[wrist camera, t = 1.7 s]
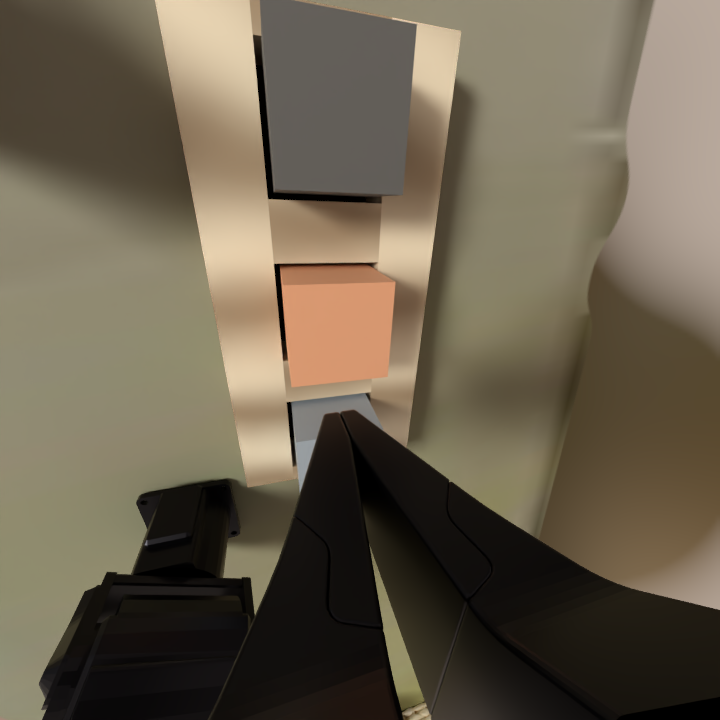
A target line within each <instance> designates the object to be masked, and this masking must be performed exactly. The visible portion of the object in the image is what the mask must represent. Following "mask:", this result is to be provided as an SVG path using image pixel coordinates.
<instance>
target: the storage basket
mask: <svg viewBox="0 0 720 720" xmlns="http://www.w3.org/2000/svg"><path fill="white" fill-rule="evenodd" d="M402 714H403V718H404V720H431V715H430V714H429V711H428V708H427V706H426V703H425V702H424V703H420V704H418V705H416V706H415V707H413V708H412V707H410V708H408V709H406V710H405V711H404V712H402Z"/></svg>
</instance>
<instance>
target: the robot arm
mask: <svg viewBox="0 0 720 720" xmlns="http://www.w3.org/2000/svg"><path fill="white" fill-rule="evenodd" d="M222 486H225V487H222ZM144 500H146V501H144ZM136 504H137V506H138V509H139V511H140V513H141V515H142V518H143V520H144V522H145V525H146V527H147V529H148V530H147V532H146V535H145V538H144V540H143V543H142V546H141V548H140V551H139V554H138V557H137V559H136V562H135V565H134V567H133V570H132V573H131V575H127V574H117V572H107V573H106V575H105V577H104V580H103V582H102V584H101V585H97V586H96V587H95V588H92V589H90V590H87V591H85V592H84V594H83V596H82V598H81V600H80V603H79V605H78V607H77V609H76V611H75V613H74V615H73V617H72V619H71V621H70V623H69V625H68V627H67V629H66V631H65V633H64V635H63V637H62V639H61V641H60V642H59V644H58V646H57V648H56V650H55V652H54V654H53V656H52V658H51V659H50V661H49V663H48V665H47V667H46V669H45V671H44V673H43V675H42V677H41V680H40V682H39V686H40V688H41V690H42V692H43V694H44V697H45V702H44V704H43V707H42V709H41V710H46V712H45V714H44V717H43V719H42V720H404V718H403V714H402V711H401V707H400V703H399V700H398V696H397V692H396V689H395V685H394V681H393V676H392V671H391V666H390V662H389V657H388V652H387V646H386V641H385V635H384V632H383V623H382V617H381V611H380V605H379V600H378V594H377V588H376V582H375V576H374V570H373V564H372V558H371V553H370V547H371V549H372V552H373V555H374V558H375V561H376V564H377V566H378V569H379V572H380V575H381V578H382V581H383V583H384V586H385V589H386V592H387V595H388V598H389V601H390V603H391V606H392V609H393V612H394V615H395V618H396V620H397V623H398V626H399V629H400V632H401V635H402V637H403V640H404V643H405V646H406V649H407V652H408V654H409V657H410V660H411V663H412V666H413V669H414V671H415V674H416V677H417V680H418V683H419V686H420V689H421V691H422V694H423V697H424V700H425V703H426V706H427V708H428V711H429V714H430V715H431V720H720V610H718V609H713V608H709V607H705V606H701V605H696V604H693V603H689V602H684V601H680V600H676V599H672V598H668V597H664V596H659V595H655V594H651V593H647V592H643V591H639V590H635V589H631V588H628V587H625V586H622V585H620V584H617V583H614V582H612V581H610V580H607V579H605V578H603V577H601V576H599V575H597V574H595V573H593V572H591V571H589V570H587V569H585V568H584V567H582V566H580V565H579V564H577V563H575V562H574V561H572V560H570V559H568V558H567V557H565V556H564V555H562V554H561V553H559V552H557V551H556V550H554V549H553V548H551V547H549V546H548V545H546V544H545V543H543V542H541V541H540V540H538V539H537V538H535V537H533V536H532V535H530V534H529V533H527V532H525V531H524V530H522V529H520V528H519V527H517V526H516V525H514V524H512V523H511V522H509V521H508V520H506V519H505V518H503V517H502V516H500V515H498V514H497V513H495V512H494V511H492V510H491V509H489V508H488V507H486V506H485V505H483V504H482V503H480V502H479V501H478V500H476V499H475V498H473V497H472V496H471V495H469V494H468V493H466V492H465V491H464V490H462V489H461V488H460V487H458V486H457V485H456V484H454V483H453V482H449V479H447V478H446V477H445V476H443V475H442V474H441V473H439V472H438V471H437V470H435V469H434V468H433V467H431V466H430V465H429V464H427V463H426V462H425V461H423V460H422V459H421V458H419V457H418V456H417V455H415V454H414V453H413V452H411V451H410V450H409V449H407V448H406V447H405V446H403V445H402V444H401V443H399V442H398V441H397V440H395V439H394V438H393V437H391V436H390V435H388V434H387V433H386V432H384V431H383V430H382V429H380V428H379V427H378V426H376V425H375V424H374V423H372V422H371V421H370V420H368V419H367V418H366V417H364V416H363V415H362V414H360V413H359V412H358V411H356V410H354V409H352V410H346V411H341V412H340V413H339V412H333V413H326V414H324V416H323V419H322V422H321V425H320V429H319V432H318V435H317V439H316V442H315V445H314V448H313V452H312V455H311V458H310V462H309V465H308V468H307V472H306V475H305V478H304V482H303V485H302V488H301V491H300V495H299V498H298V501H297V505H296V508H295V511H294V515H293V517H294V518H292V520H291V524H290V527H289V530H288V534H287V537H286V540H285V543H284V546H283V548H282V551H281V554H280V557H279V560H278V563H277V565H276V568H275V570H274V573H273V575H272V577H271V580H270V582H269V585H268V587H267V590H266V592H265V594H264V597H263V599H262V601H261V603H260V606H259V608H258V610H257V613H256V615H255V614H254V605H253V596H252V587H251V578H250V577H242V579H237V578H223V575H224V566H225V558H226V550H227V541H228V538H230V537H235V536H238V535H239V534H240V523H239V519H238V514H237V510H236V505H235V501H234V497H233V492H232V488H231V483H230V482H229V481H227V480H221V481H215V482H209V483H203V484H198V485H192V486H186V487H180V488H174V489H169V490H163V491H157V492H151V493H145V494H142V495H140V496H139V497H138V500H137V502H136ZM369 544H370V547H369Z"/></svg>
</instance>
